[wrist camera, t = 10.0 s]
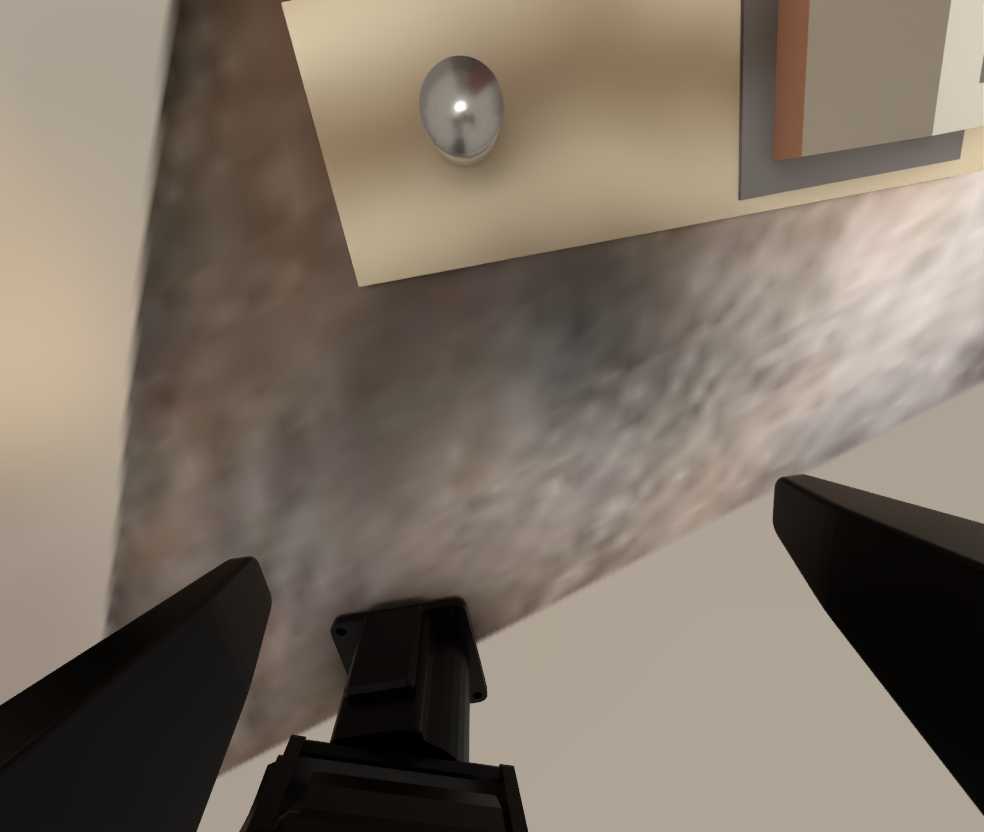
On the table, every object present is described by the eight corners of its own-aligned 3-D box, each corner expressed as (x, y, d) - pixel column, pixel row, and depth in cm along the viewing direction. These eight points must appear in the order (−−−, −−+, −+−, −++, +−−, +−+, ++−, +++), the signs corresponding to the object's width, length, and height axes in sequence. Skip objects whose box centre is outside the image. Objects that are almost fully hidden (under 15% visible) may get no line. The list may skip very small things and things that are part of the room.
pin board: (955, 172, 17) (988, 170, 16) (364, 283, 18) (357, 287, 17) (1005, -134, 14) (1050, -163, 13) (292, 15, 15) (278, 0, 14)
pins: (886, 85, 15) (1016, 46, 12) (440, 172, 16) (429, 160, 12) (894, 6, 15) (1037, -63, 11) (426, 100, 15) (410, 64, 11)
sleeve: (933, 130, 16) (1182, 87, 10) (773, 161, 16) (932, 135, 10) (961, -73, 14) (1287, -262, 8) (779, -35, 14) (978, -196, 8)
